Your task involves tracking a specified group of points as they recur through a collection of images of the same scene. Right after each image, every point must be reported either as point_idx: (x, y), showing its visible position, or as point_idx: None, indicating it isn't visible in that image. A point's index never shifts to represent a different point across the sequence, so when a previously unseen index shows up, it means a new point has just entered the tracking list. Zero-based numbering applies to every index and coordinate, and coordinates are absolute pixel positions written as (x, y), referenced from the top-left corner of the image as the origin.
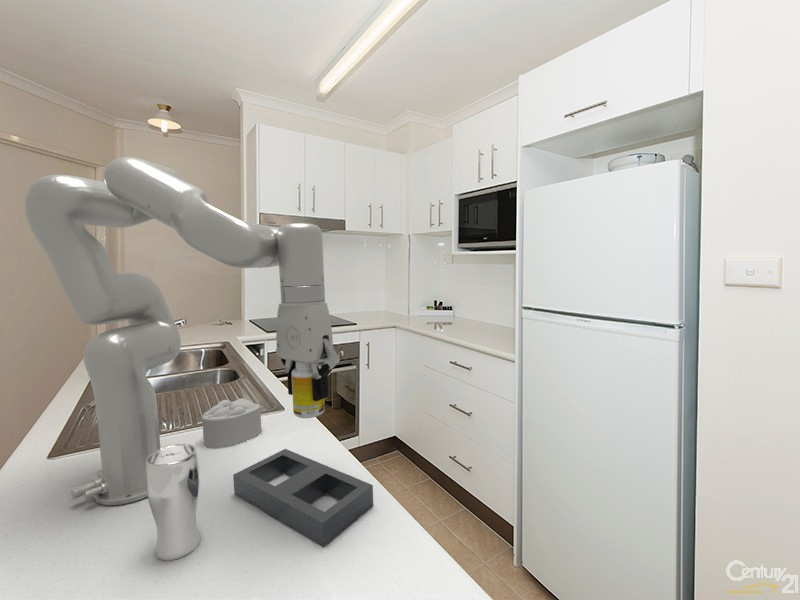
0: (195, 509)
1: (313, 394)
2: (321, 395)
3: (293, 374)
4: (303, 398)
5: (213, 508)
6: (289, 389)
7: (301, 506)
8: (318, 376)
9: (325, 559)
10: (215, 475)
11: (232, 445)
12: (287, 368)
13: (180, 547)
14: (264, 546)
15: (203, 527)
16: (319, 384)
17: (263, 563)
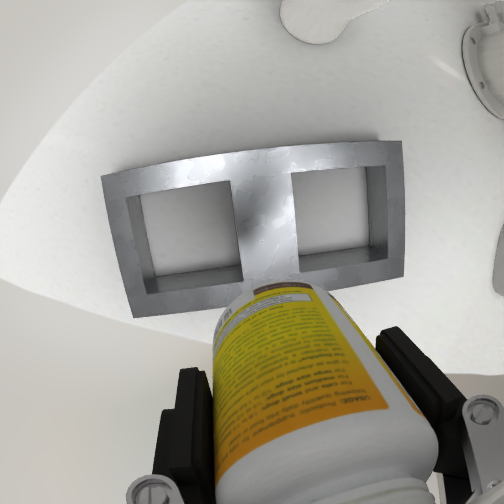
0: (307, 8)
1: (190, 389)
2: (172, 409)
3: (370, 425)
4: (245, 342)
5: (368, 95)
6: (399, 341)
7: (175, 172)
8: (143, 494)
9: (95, 160)
10: (454, 156)
11: (501, 231)
12: (482, 421)
13: (285, 2)
14: (196, 100)
15: (329, 58)
16: (165, 453)
17: (161, 83)
